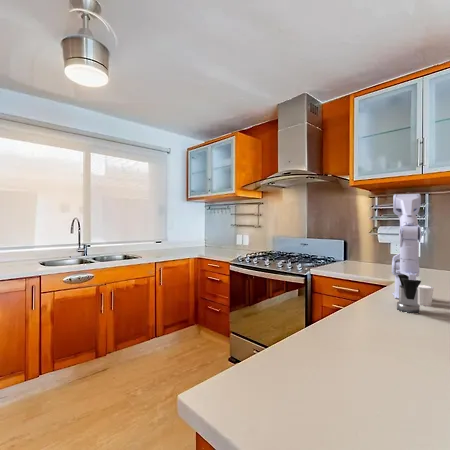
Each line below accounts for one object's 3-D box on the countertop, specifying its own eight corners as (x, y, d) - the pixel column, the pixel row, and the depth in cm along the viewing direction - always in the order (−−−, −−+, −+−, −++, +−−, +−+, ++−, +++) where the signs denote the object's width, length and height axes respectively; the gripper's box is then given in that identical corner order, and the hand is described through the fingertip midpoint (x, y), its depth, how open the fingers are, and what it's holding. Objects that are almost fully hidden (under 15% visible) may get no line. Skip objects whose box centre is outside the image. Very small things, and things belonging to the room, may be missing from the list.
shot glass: (423, 306, 112) (424, 288, 112) (408, 302, 118) (408, 284, 118) (437, 305, 113) (438, 287, 113) (421, 301, 120) (421, 284, 120)
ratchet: (393, 302, 117) (393, 290, 117) (413, 304, 115) (414, 291, 115) (398, 312, 105) (398, 298, 105) (421, 314, 102) (421, 300, 102)
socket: (398, 301, 110) (399, 285, 110) (414, 302, 108) (414, 286, 108) (401, 304, 105) (401, 288, 105) (417, 306, 103) (417, 289, 103)
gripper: (393, 256, 115) (392, 291, 115) (399, 260, 101) (398, 300, 101) (414, 257, 112) (414, 293, 112) (423, 262, 98) (422, 302, 99)
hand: (408, 296), depth 107 cm, fingers open, 7 cm apart
